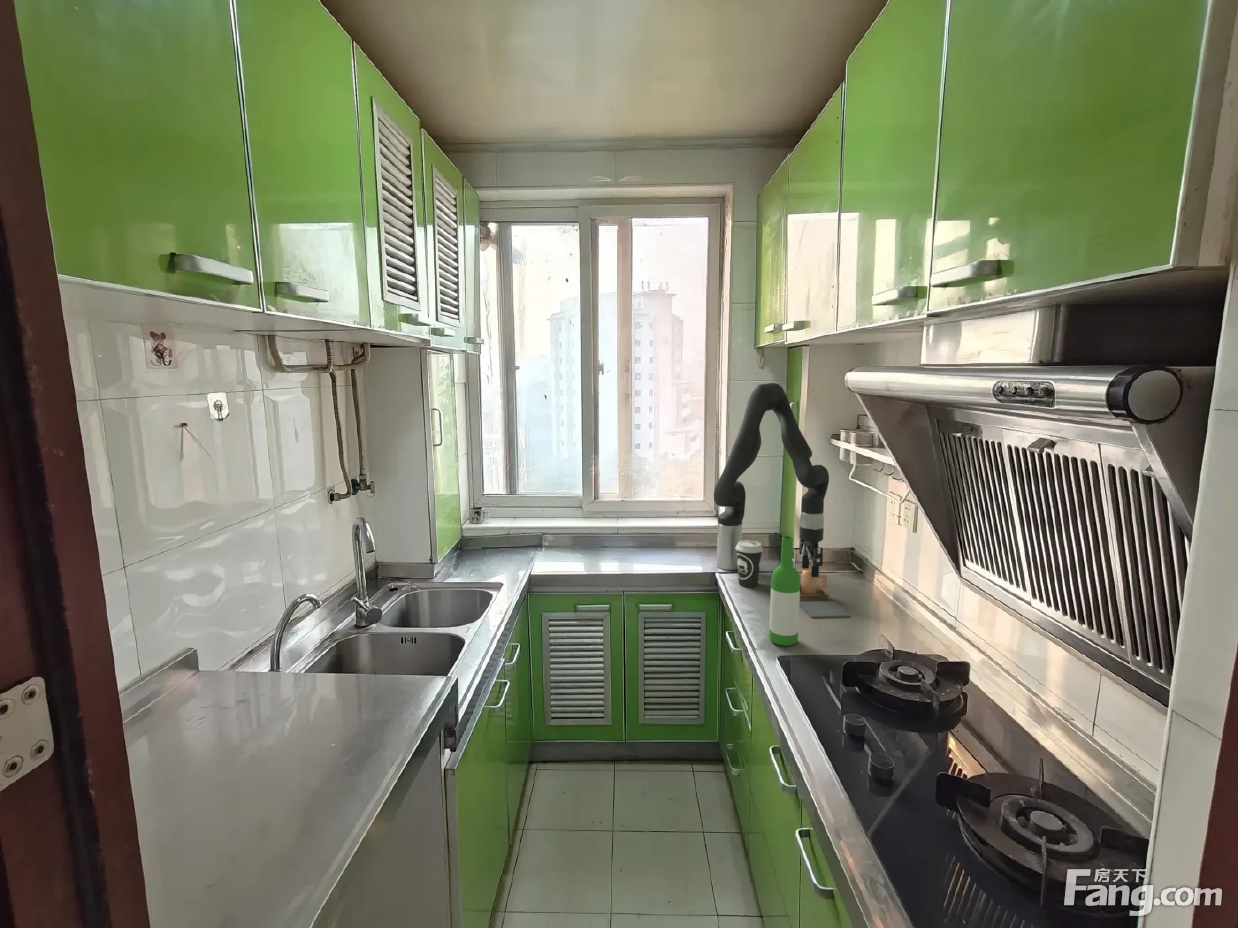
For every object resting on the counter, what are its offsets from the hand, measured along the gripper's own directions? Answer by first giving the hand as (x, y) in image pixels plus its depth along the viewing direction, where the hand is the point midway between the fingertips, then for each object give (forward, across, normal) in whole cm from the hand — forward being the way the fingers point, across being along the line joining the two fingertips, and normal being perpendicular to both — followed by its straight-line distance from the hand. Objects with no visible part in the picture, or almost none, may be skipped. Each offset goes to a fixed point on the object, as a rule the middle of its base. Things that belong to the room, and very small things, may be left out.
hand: (810, 572), depth 202 cm
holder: (+8, 0, 0) cm, 8 cm away
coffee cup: (+8, -13, -17) cm, 23 cm away
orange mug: (+8, 0, +2) cm, 8 cm away
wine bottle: (+9, +33, -20) cm, 39 cm away
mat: (+8, +12, 0) cm, 14 cm away
